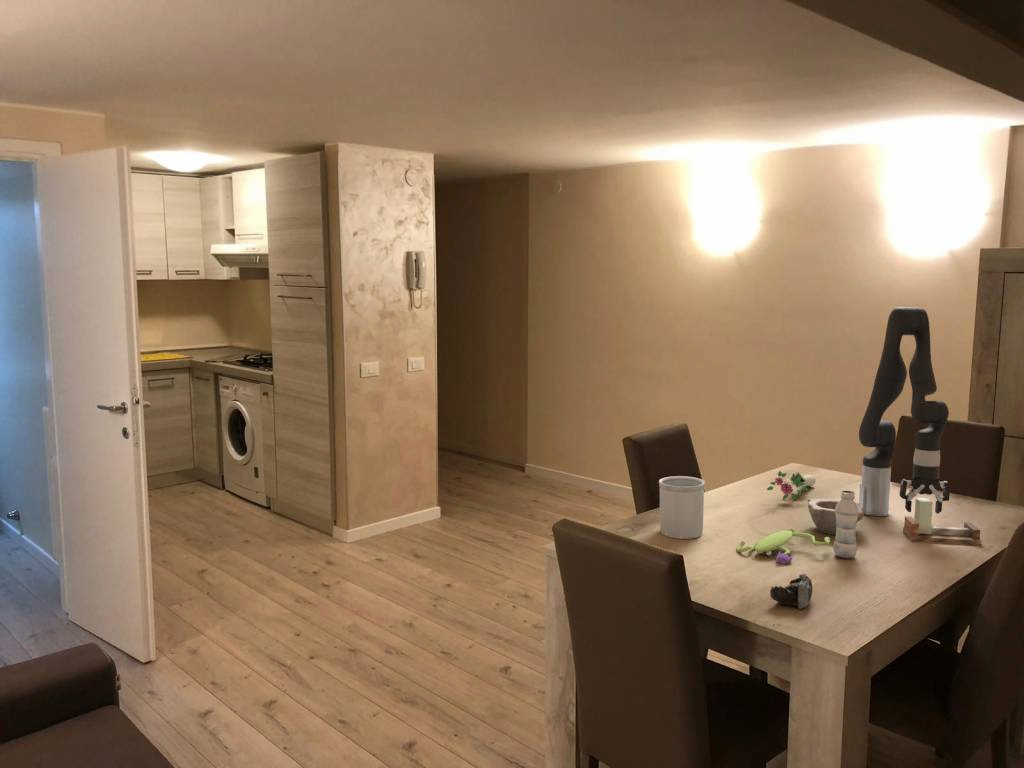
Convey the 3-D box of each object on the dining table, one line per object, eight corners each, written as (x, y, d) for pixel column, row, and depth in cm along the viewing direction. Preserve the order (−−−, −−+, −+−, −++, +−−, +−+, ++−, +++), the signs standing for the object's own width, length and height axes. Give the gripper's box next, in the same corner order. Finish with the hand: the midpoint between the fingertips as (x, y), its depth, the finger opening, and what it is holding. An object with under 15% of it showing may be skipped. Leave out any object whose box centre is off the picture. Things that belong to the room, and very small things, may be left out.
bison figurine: (811, 596, 212) (771, 589, 216) (814, 571, 211) (773, 564, 215) (810, 615, 201) (768, 607, 205) (813, 588, 200) (770, 581, 204)
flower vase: (815, 506, 321) (793, 508, 292) (786, 493, 328) (762, 493, 298) (827, 479, 320) (806, 478, 290) (798, 466, 326) (774, 464, 297)
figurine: (839, 554, 245) (840, 536, 244) (774, 569, 232) (775, 550, 232) (792, 537, 261) (793, 520, 260) (729, 550, 249) (730, 533, 248)
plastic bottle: (846, 562, 237) (849, 496, 234) (827, 555, 243) (831, 490, 240) (861, 558, 240) (865, 493, 237) (842, 551, 246) (846, 488, 243)
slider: (918, 534, 256) (920, 502, 255) (912, 527, 263) (914, 496, 262) (932, 534, 255) (934, 503, 254) (925, 528, 262) (927, 497, 261)
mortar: (859, 526, 271) (860, 499, 270) (863, 541, 256) (865, 513, 254) (806, 521, 277) (807, 495, 276) (807, 536, 261) (808, 508, 260)
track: (911, 541, 255) (912, 524, 255) (902, 531, 265) (903, 515, 264) (980, 545, 252) (981, 528, 251) (968, 535, 261) (970, 518, 261)
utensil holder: (649, 533, 265) (650, 481, 262) (673, 523, 275) (674, 473, 273) (688, 543, 255) (689, 489, 252) (712, 532, 265) (713, 480, 263)
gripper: (905, 464, 254) (902, 514, 256) (954, 466, 251) (951, 516, 253) (899, 459, 261) (896, 507, 263) (946, 461, 259) (943, 510, 261)
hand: (923, 512), depth 258 cm, fingers open, 8 cm apart
